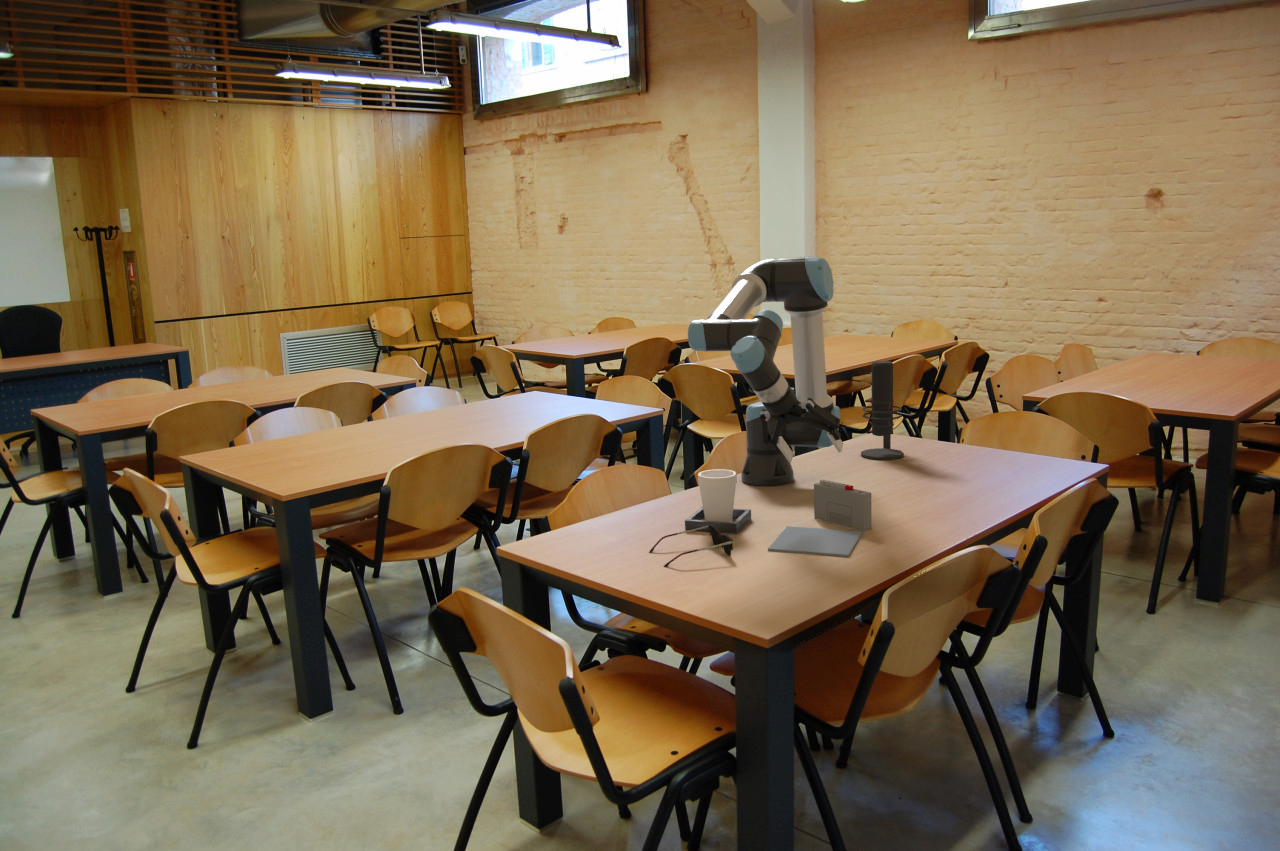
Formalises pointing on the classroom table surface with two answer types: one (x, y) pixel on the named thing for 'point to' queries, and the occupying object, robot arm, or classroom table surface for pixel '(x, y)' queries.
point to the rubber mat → (816, 541)
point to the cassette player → (842, 505)
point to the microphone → (882, 411)
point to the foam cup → (717, 494)
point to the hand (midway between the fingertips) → (815, 453)
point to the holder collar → (723, 527)
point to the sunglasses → (717, 541)
